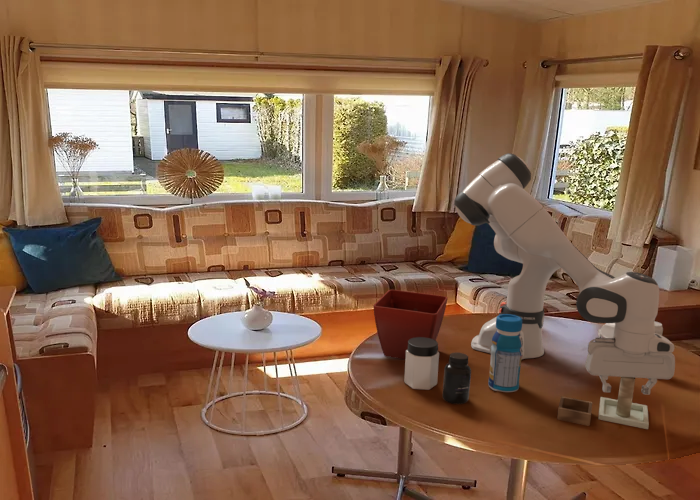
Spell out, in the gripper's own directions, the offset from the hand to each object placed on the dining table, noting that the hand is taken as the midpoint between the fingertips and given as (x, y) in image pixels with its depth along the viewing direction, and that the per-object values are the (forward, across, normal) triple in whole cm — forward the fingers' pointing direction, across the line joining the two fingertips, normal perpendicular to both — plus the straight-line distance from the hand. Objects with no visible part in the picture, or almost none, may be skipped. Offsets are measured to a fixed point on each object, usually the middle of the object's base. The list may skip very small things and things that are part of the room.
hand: (625, 392), depth 153 cm
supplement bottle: (+7, -41, +5) cm, 42 cm away
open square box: (+6, -12, -2) cm, 14 cm away
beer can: (+7, +18, +30) cm, 36 cm away
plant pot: (+7, -52, +35) cm, 63 cm away
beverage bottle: (+7, -27, +14) cm, 31 cm away
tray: (+6, 0, 0) cm, 6 cm away
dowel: (+6, 0, 0) cm, 6 cm away
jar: (+7, -49, +13) cm, 52 cm away
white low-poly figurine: (+7, +19, +55) cm, 59 cm away
